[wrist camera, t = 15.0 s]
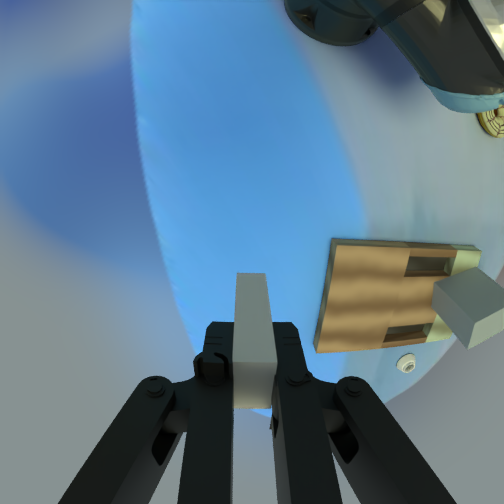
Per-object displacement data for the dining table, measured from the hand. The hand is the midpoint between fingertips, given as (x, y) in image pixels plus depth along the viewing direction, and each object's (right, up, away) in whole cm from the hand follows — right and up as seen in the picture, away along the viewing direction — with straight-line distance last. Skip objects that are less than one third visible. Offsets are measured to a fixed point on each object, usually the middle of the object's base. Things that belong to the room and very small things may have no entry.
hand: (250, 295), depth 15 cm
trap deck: (+30, -6, +35) cm, 46 cm away
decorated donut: (+47, +31, +21) cm, 60 cm away
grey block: (+41, -5, +32) cm, 52 cm away
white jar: (+37, -24, +43) cm, 62 cm away
